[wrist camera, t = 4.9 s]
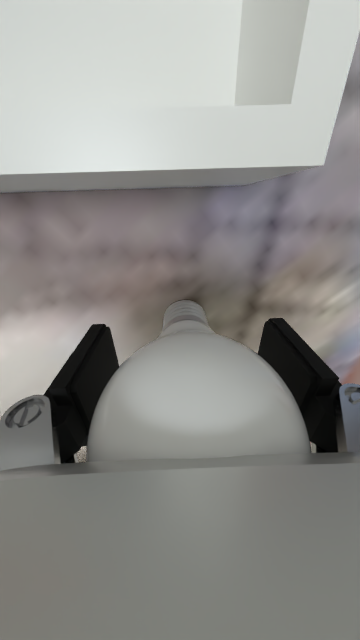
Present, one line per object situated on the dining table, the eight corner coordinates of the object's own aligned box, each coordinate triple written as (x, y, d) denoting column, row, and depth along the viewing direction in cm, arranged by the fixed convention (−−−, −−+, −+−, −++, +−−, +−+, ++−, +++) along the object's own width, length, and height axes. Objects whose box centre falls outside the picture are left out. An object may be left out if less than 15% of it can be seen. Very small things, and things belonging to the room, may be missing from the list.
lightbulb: (184, 365, 15) (200, 621, 6) (116, 315, 13) (-36, 608, 4) (251, 312, 13) (445, 587, 4) (184, 242, 11) (250, 498, 1)
